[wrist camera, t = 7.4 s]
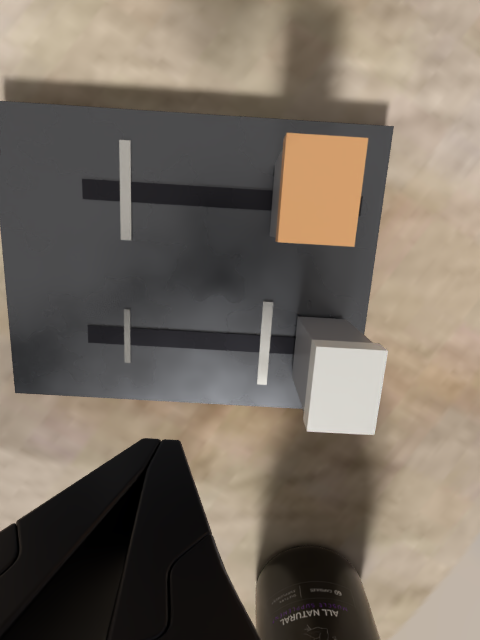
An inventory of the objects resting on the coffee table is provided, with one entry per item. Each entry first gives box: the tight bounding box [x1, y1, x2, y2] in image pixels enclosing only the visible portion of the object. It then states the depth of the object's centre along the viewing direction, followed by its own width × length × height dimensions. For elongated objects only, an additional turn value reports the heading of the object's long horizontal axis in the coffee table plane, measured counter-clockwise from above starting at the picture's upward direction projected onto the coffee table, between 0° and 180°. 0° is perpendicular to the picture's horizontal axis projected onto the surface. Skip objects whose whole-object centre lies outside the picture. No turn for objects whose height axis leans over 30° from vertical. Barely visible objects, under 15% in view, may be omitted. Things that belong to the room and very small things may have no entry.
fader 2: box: [292, 317, 388, 435], centre depth 17 cm, size 3×3×5 cm
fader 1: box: [270, 133, 368, 247], centre depth 15 cm, size 3×3×5 cm
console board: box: [0, 101, 394, 409], centre depth 19 cm, size 18×14×1 cm
